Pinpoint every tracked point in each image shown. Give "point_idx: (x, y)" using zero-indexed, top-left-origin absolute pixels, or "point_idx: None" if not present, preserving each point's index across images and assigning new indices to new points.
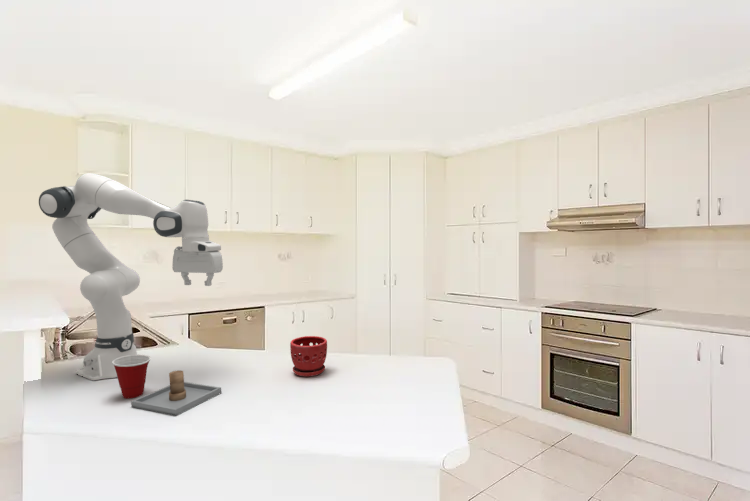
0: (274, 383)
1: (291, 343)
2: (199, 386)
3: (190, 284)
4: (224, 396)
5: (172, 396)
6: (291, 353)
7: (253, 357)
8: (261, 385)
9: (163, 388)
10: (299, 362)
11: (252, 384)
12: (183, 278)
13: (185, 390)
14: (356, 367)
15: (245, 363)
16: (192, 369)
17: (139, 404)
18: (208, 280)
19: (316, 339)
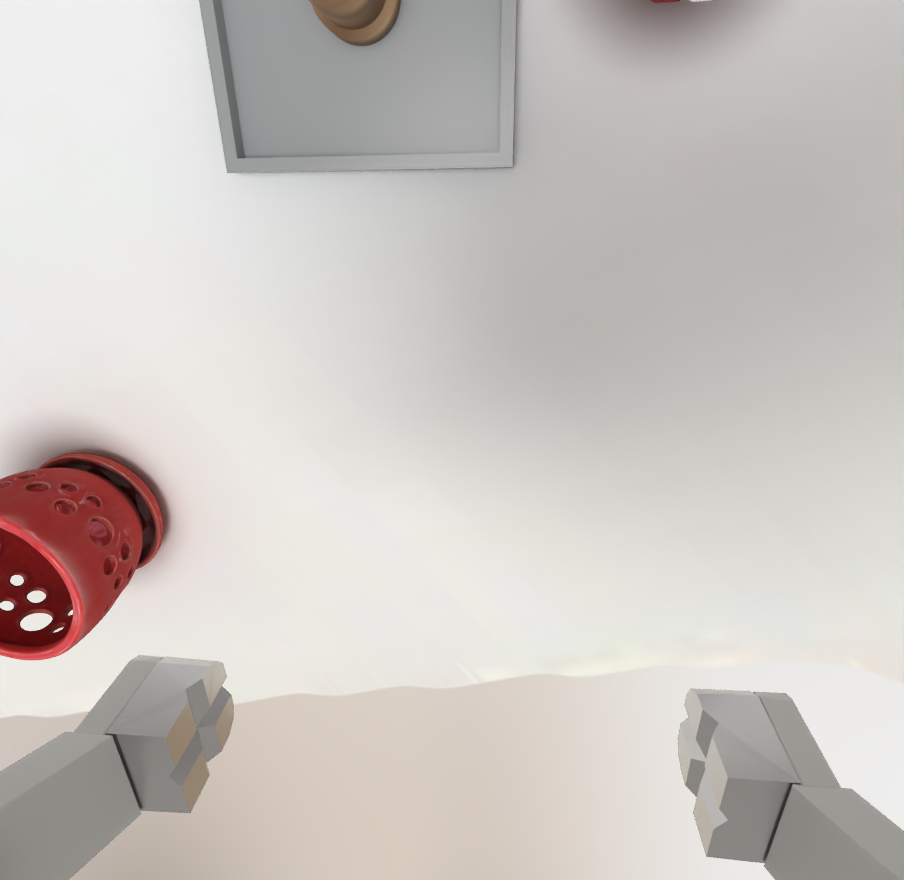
0: (129, 359)
1: (27, 534)
2: (358, 156)
3: (681, 742)
4: (191, 142)
5: None
6: (74, 509)
7: (472, 601)
8: (157, 320)
9: (506, 28)
10: (35, 471)
11: (202, 317)
12: (889, 837)
13: (322, 20)
14: None
15: (446, 529)
16: (644, 392)
17: None
18: (58, 749)
19: (37, 645)
